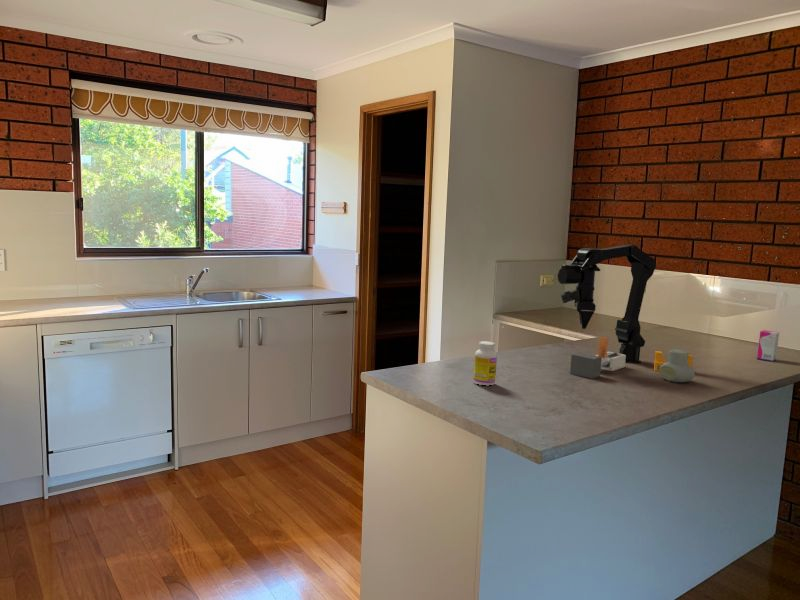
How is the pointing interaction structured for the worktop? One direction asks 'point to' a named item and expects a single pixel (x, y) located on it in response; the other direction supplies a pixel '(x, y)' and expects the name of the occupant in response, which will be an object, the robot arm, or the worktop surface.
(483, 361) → the supplement bottle
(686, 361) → the air freshener
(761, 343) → the supplement box
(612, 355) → the tube
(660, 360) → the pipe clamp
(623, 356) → the open tray
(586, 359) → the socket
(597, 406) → the worktop surface
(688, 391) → the worktop surface
